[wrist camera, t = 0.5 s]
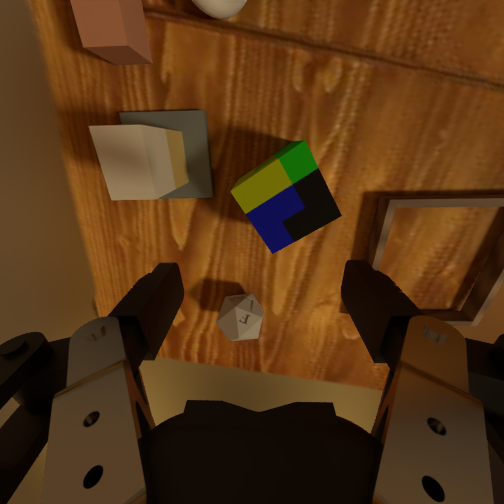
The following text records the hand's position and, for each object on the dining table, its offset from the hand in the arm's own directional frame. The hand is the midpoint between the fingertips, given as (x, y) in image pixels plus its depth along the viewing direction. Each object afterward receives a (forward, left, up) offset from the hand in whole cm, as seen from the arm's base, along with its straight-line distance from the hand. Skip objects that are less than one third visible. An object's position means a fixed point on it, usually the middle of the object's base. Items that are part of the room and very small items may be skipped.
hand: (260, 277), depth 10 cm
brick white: (-4, -14, -20) cm, 25 cm away
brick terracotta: (-19, -17, -28) cm, 38 cm away
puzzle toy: (+1, +3, -28) cm, 28 cm away
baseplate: (-4, -14, -27) cm, 31 cm away
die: (+24, -4, -28) cm, 37 cm away
